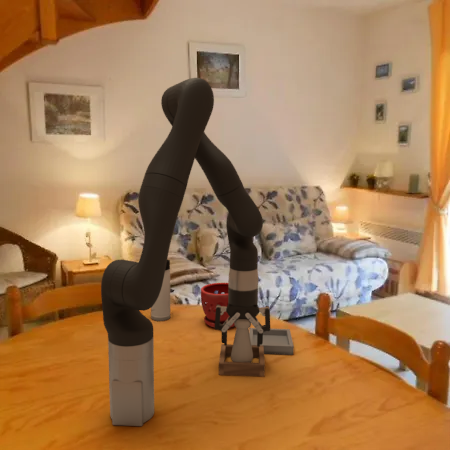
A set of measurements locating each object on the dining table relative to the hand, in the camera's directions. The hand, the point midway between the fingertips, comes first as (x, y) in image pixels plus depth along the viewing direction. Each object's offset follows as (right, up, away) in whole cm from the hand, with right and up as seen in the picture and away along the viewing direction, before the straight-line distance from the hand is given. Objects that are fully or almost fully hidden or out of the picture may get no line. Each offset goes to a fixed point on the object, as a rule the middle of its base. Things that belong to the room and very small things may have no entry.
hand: (242, 344), depth 123 cm
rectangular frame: (0, -5, +1) cm, 5 cm away
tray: (+9, -3, +13) cm, 16 cm away
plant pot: (-6, -1, +29) cm, 29 cm away
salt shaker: (0, -6, +1) cm, 6 cm away
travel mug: (-26, 0, +32) cm, 41 cm away
